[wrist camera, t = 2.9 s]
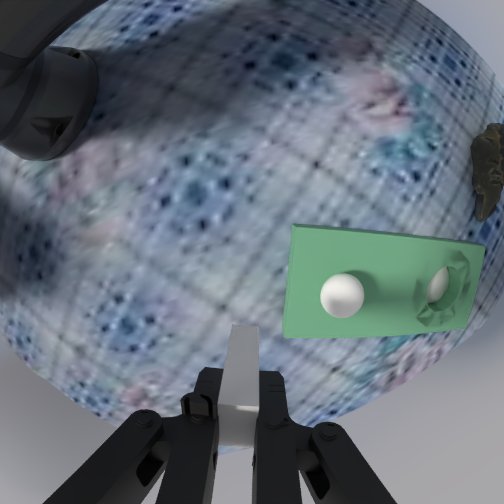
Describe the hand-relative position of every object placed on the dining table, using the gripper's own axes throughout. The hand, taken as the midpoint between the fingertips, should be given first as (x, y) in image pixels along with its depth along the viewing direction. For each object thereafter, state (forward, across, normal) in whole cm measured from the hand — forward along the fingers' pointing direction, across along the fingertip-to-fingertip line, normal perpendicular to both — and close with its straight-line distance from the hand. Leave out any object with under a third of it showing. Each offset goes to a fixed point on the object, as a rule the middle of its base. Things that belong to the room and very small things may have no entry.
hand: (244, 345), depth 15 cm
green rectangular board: (+13, +16, 0) cm, 21 cm away
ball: (+8, +8, 0) cm, 12 cm away
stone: (+13, +29, +16) cm, 36 cm away
